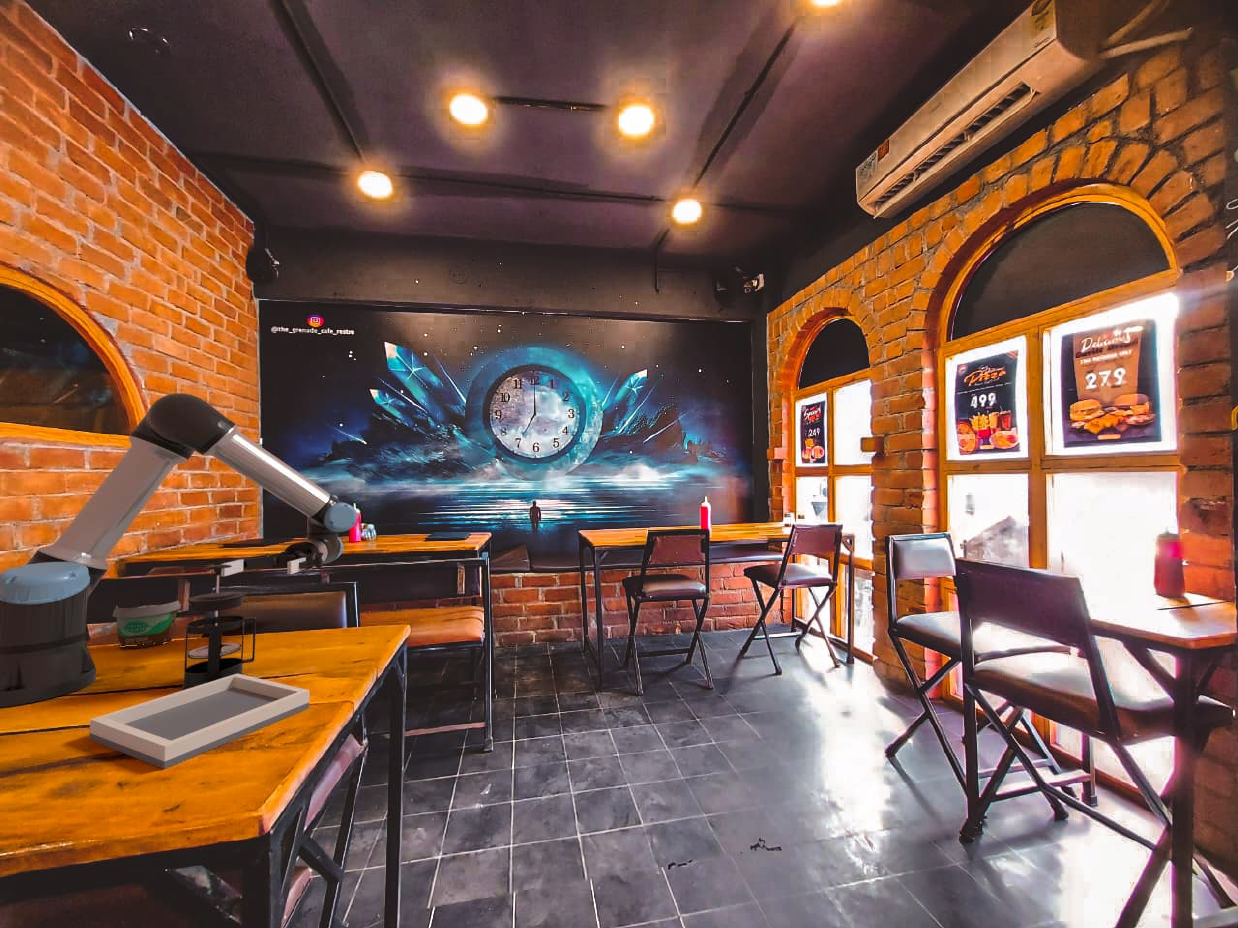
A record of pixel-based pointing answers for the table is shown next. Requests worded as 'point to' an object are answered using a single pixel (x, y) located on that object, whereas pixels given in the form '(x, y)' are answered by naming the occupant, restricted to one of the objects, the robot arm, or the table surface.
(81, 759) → the table surface
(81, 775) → the table surface
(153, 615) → the food container
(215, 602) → the french press
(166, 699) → the serving tray
